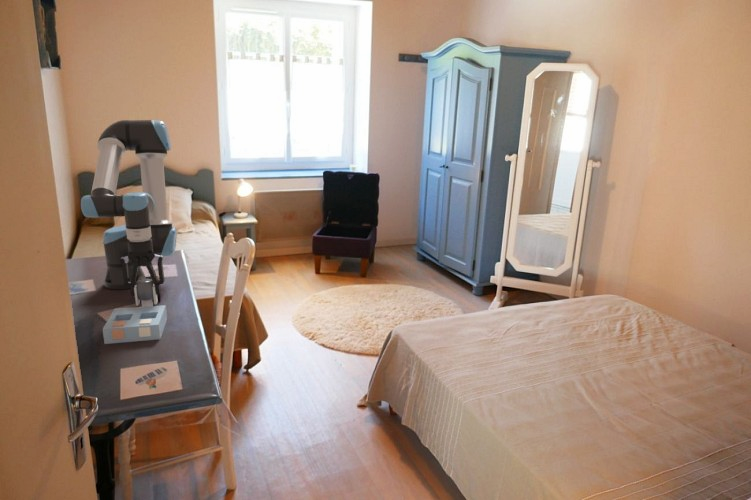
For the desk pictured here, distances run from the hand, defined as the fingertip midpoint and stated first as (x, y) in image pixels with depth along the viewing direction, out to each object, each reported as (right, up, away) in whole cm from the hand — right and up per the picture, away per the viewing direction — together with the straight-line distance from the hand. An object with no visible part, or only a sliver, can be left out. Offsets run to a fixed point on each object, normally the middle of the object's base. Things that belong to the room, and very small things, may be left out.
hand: (147, 303), depth 180 cm
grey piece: (0, -4, +1) cm, 4 cm away
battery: (-4, -1, +12) cm, 13 cm away
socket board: (+2, -8, -12) cm, 15 cm away
